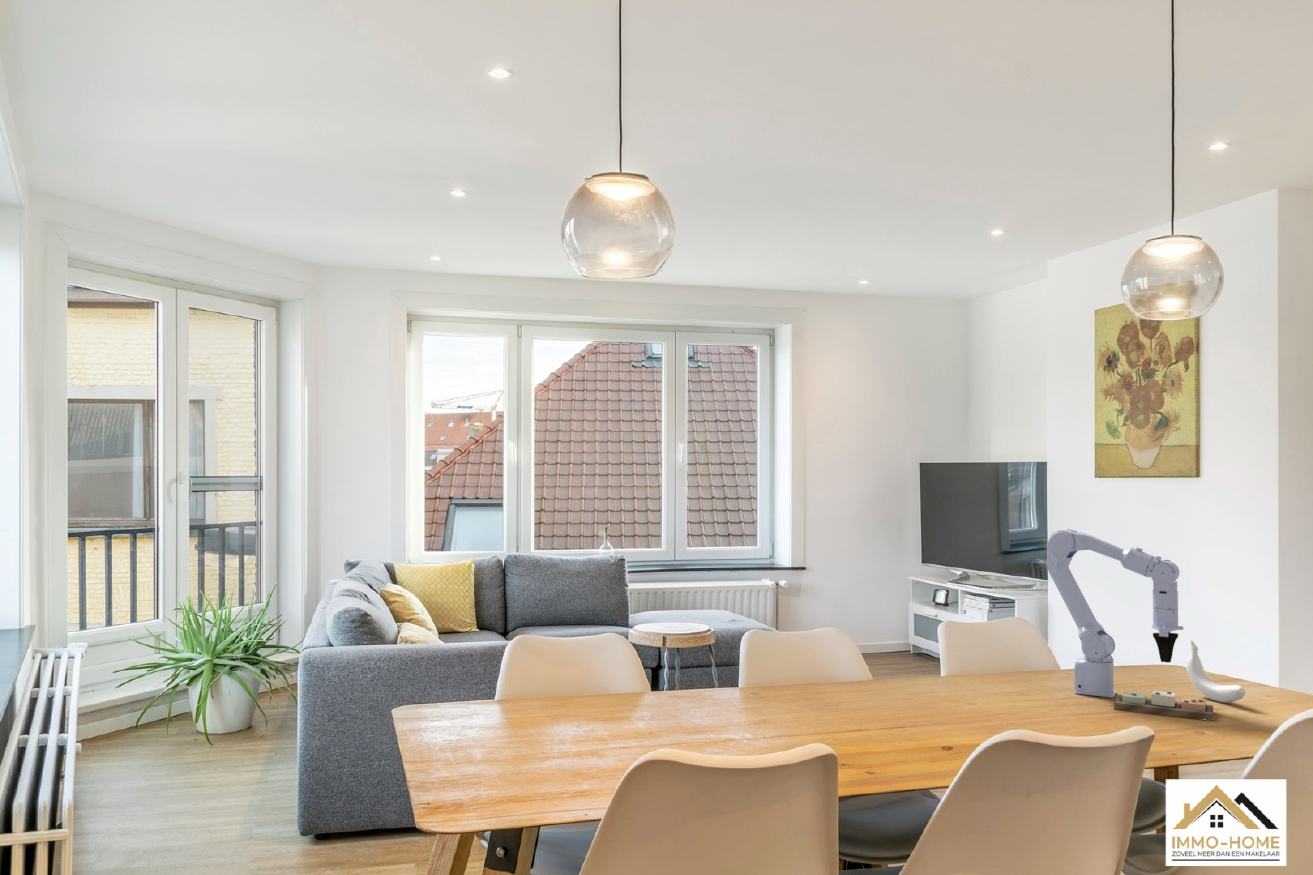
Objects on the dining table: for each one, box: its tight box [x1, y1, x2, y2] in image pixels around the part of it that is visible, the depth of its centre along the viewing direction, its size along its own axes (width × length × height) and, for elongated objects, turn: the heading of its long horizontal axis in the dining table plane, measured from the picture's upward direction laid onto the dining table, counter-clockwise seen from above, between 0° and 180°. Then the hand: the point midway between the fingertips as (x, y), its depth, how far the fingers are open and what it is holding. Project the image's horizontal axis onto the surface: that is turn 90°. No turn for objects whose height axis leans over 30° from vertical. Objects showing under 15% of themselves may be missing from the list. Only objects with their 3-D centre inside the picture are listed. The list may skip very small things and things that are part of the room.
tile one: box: [1121, 691, 1147, 704], centre depth 243 cm, size 5×5×3 cm
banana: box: [1185, 640, 1246, 703], centre depth 252 cm, size 5×19×15 cm, turn 15°
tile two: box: [1150, 690, 1177, 707], centre depth 240 cm, size 5×5×3 cm
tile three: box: [1180, 698, 1207, 711], centre depth 237 cm, size 5×5×3 cm
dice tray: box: [1113, 694, 1214, 722], centre depth 240 cm, size 21×11×2 cm, turn 59°
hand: (1165, 661), depth 249 cm, fingers closed
